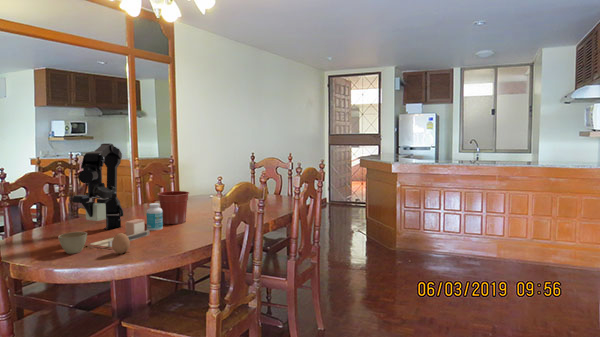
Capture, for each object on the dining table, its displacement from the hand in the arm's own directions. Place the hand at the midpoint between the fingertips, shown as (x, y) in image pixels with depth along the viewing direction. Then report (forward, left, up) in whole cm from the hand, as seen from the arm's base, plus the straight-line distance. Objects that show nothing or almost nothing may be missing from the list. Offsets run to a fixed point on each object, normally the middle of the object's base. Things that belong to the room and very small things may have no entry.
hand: (96, 215), depth 177 cm
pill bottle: (+11, +24, -11) cm, 29 cm away
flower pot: (+6, +44, -11) cm, 46 cm away
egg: (+26, -11, -11) cm, 30 cm away
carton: (+13, +9, -10) cm, 19 cm away
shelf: (+12, +2, -11) cm, 16 cm away
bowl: (+7, -17, -11) cm, 22 cm away
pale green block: (0, 0, -2) cm, 2 cm away
